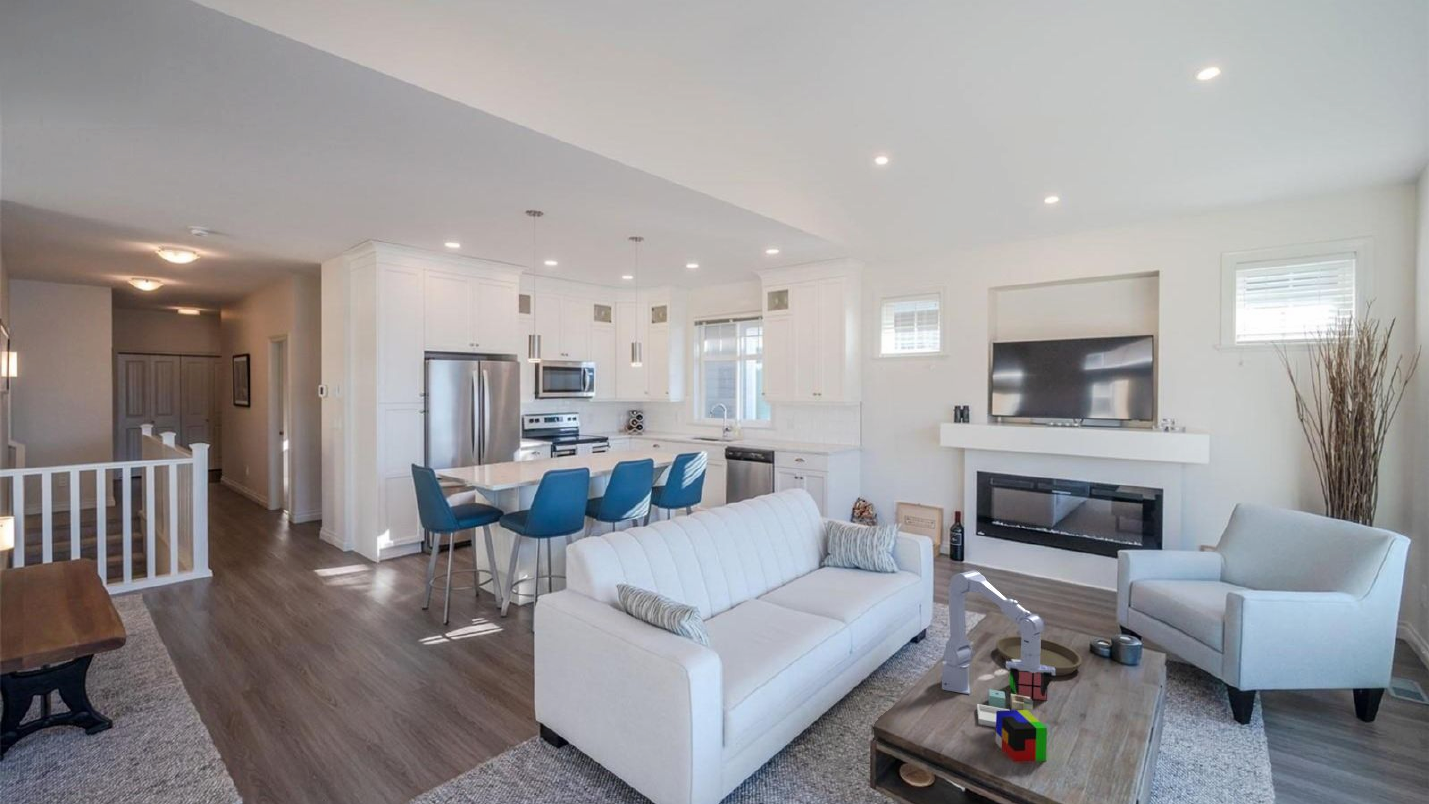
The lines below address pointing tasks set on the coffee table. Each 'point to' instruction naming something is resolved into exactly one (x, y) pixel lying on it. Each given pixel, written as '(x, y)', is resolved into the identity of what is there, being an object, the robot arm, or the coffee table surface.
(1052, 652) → the plant saucer
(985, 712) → the tray
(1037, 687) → the puzzle cube
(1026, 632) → the robot arm
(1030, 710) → the brushed steel block
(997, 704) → the teal block
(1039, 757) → the puzzle toy
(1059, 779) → the coffee table surface
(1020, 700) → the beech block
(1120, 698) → the coffee table surface
